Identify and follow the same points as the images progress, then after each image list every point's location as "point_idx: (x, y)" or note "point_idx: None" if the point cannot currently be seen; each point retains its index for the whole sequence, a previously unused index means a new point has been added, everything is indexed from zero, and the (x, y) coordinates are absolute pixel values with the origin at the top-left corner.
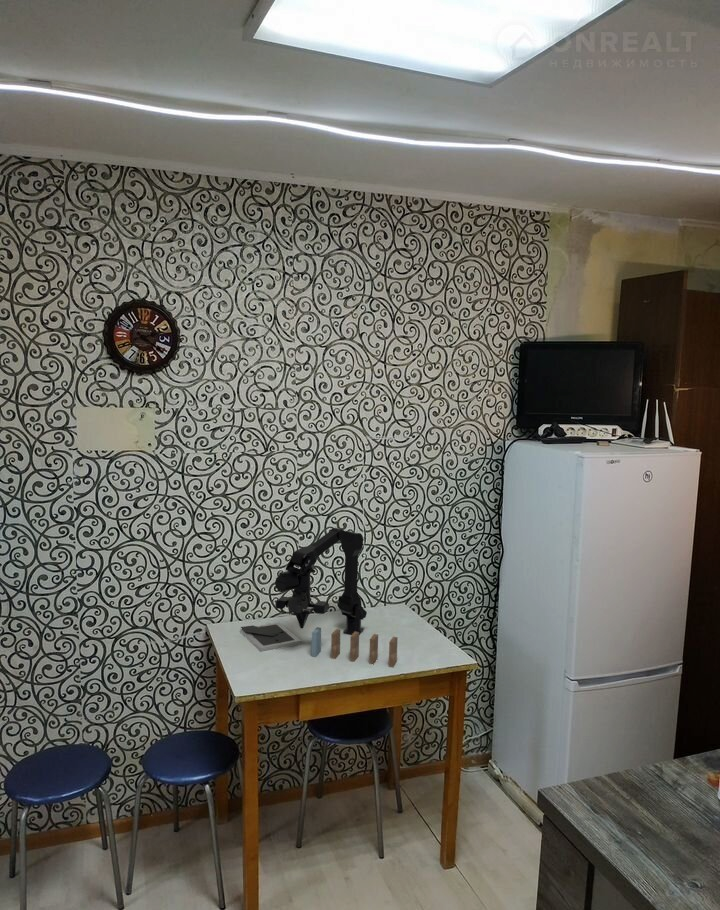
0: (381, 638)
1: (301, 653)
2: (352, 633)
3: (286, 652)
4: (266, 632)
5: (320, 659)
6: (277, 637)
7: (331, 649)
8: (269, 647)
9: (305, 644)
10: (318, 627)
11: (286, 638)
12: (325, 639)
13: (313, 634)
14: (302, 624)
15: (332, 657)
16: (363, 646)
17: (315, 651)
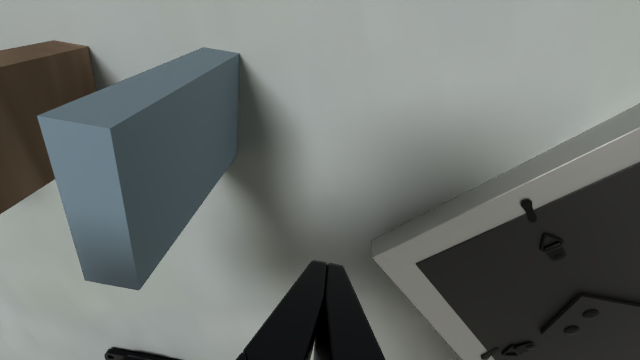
0: (4, 328)
1: (333, 99)
2: (133, 356)
3: (458, 98)
4: (630, 338)
5: (152, 7)
6: (546, 286)
7: (24, 59)
8: (626, 127)
9: (339, 240)
10: (118, 285)
11: (477, 277)
12: (244, 305)
13: (107, 111)
14: (301, 297)
15: (71, 46)
16: (18, 248)
17: (188, 57)
